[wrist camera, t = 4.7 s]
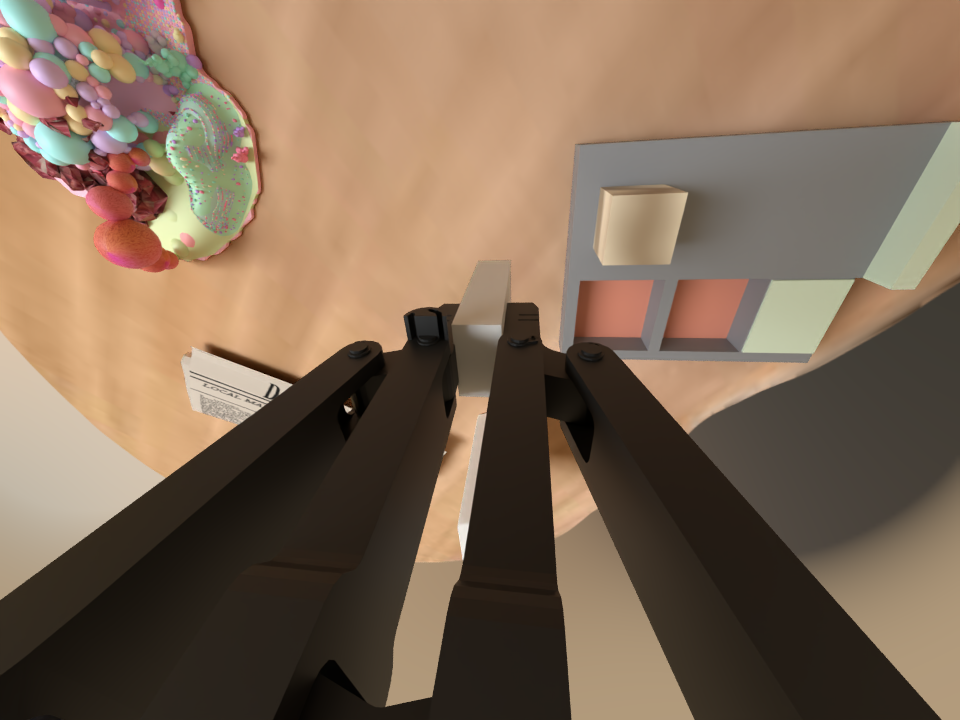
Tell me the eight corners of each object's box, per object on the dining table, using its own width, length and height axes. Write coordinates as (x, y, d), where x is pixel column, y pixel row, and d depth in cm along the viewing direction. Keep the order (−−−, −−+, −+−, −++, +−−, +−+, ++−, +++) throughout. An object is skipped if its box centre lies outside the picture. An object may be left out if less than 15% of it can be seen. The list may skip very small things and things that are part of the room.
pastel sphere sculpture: (-34, 117, 31) (-216, 110, 24) (-73, -260, 20) (-446, -507, 12) (226, 291, 38) (151, 329, 31) (309, 84, 27) (221, 64, 19)
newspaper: (203, 404, 50) (183, 420, 47) (190, 335, 43) (165, 349, 40) (432, 477, 53) (427, 497, 50) (455, 424, 46) (450, 444, 43)
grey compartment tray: (559, 342, 36) (563, 372, 32) (575, 144, 27) (585, 145, 22) (820, 346, 33) (867, 379, 29) (949, 121, 23) (1051, 117, 19)
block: (592, 248, 28) (602, 265, 24) (600, 187, 25) (612, 195, 22) (650, 246, 27) (670, 264, 24) (664, 184, 25) (688, 192, 21)
